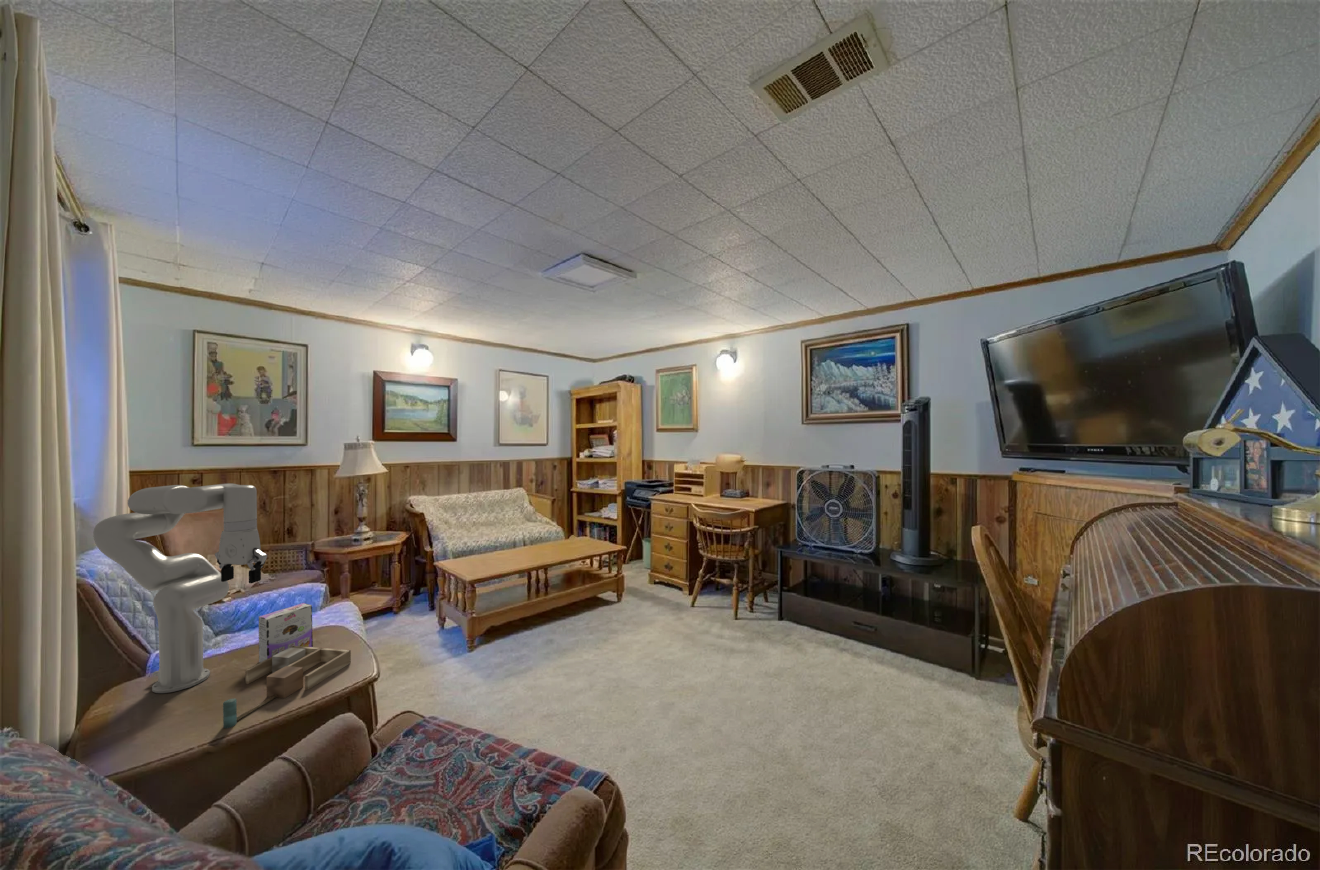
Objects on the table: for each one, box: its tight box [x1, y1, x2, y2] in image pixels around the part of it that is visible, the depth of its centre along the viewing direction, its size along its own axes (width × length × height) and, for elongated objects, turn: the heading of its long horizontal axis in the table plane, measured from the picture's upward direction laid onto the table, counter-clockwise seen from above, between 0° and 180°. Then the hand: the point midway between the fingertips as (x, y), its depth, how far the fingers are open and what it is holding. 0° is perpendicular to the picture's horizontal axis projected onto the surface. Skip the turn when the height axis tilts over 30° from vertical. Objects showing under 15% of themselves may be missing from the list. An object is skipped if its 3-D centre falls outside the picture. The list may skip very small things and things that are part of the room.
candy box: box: [258, 602, 314, 663], centre depth 159 cm, size 14×6×16 cm, turn 154°
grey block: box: [271, 648, 305, 674], centre depth 149 cm, size 6×6×6 cm
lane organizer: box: [244, 646, 352, 690], centre depth 148 cm, size 22×16×5 cm
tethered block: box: [222, 666, 304, 729], centre depth 130 cm, size 6×20×7 cm, turn 172°
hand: (241, 581), depth 140 cm, fingers open, 9 cm apart
